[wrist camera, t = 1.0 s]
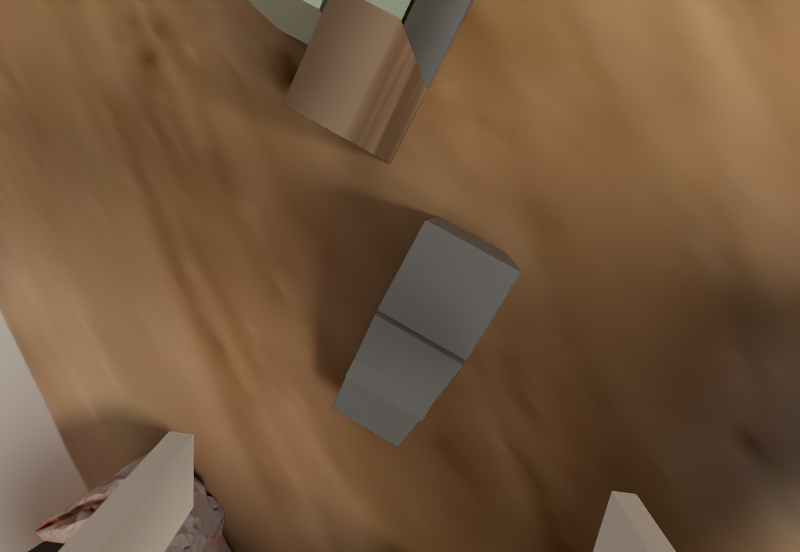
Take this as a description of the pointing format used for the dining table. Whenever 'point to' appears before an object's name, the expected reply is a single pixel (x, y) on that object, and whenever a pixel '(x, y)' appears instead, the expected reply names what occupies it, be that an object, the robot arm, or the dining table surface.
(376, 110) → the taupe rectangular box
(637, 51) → the dining table surface
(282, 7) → the pale green box
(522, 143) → the dining table surface
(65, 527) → the food item
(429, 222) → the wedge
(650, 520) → the robot arm
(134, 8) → the dining table surface
